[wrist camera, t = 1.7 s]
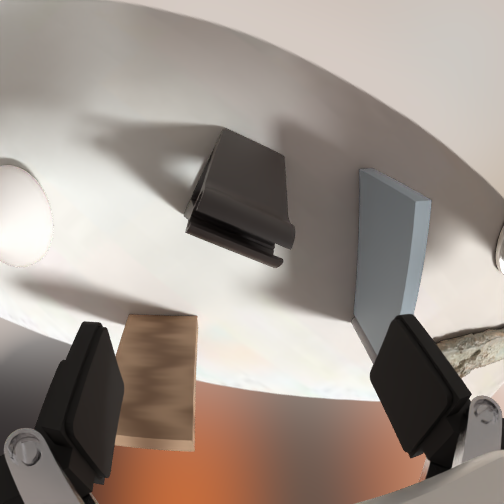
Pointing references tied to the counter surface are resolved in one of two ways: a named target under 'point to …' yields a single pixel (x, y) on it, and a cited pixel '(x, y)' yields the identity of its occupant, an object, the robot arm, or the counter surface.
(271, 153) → the phone stand
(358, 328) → the blue rectangular panel
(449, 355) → the long grey stone
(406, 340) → the robot arm
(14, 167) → the flower in vase
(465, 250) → the counter surface
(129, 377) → the brown wooden blocks
